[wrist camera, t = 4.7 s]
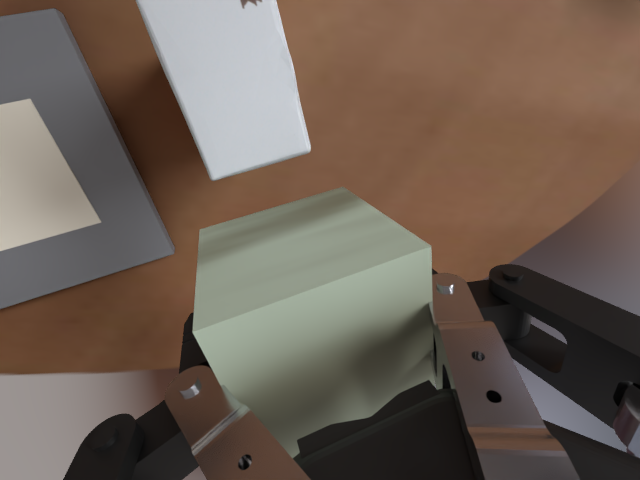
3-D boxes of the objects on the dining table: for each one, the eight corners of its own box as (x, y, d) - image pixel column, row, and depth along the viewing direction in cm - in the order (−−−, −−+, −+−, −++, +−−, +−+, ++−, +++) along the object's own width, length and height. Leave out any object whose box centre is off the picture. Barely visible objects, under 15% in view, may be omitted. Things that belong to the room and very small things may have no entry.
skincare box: (171, 49, 19) (124, -21, 9) (238, 34, 20) (270, -48, 9) (209, 147, 22) (209, 185, 11) (267, 130, 23) (317, 151, 12)
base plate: (-271, 65, 14) (-306, 62, 13) (62, 13, 17) (53, 7, 16) (-37, 314, 21) (-48, 324, 20) (175, 248, 24) (173, 254, 23)
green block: (199, 229, 12) (192, 332, 7) (342, 186, 13) (431, 245, 8) (246, 340, 15) (267, 473, 10) (360, 297, 16) (434, 394, 11)
